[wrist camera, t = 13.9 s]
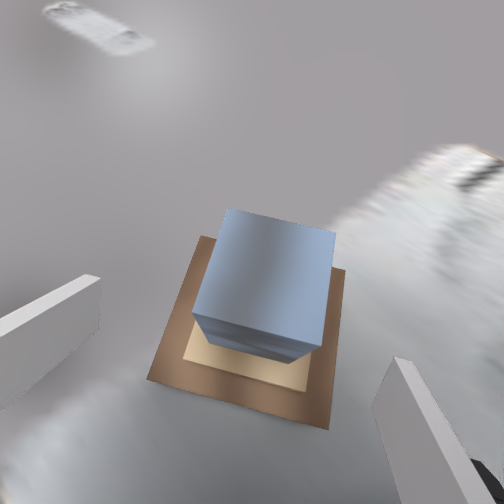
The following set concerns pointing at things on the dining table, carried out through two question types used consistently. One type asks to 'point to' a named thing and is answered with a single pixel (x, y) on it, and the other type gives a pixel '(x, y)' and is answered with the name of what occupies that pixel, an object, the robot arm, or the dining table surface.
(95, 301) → the robot arm
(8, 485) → the dining table surface
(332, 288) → the block
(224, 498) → the dining table surface
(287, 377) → the pallet
